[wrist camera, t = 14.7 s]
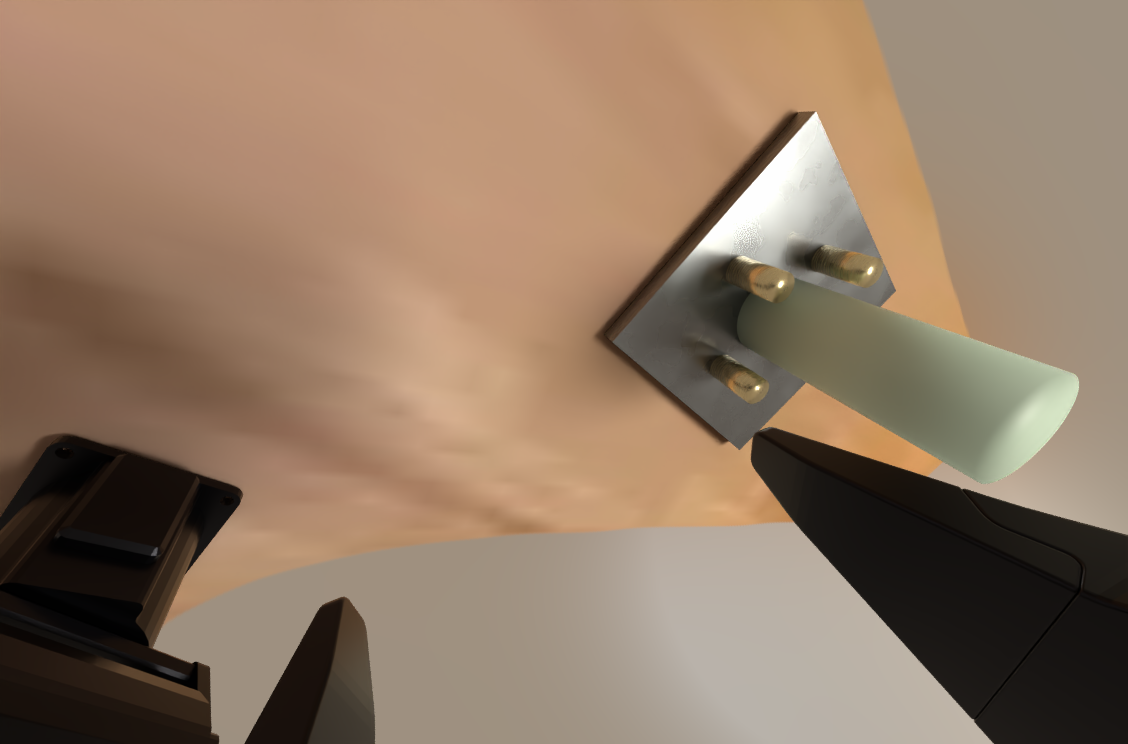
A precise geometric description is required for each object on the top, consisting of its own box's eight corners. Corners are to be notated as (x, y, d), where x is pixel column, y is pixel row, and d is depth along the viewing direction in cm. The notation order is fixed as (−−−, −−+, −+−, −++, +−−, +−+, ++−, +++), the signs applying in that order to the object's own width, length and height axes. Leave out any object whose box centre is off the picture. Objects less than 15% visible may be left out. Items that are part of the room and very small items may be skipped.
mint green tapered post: (779, 354, 27) (1014, 483, 17) (724, 345, 25) (952, 484, 15) (815, 283, 25) (1097, 379, 15) (759, 267, 23) (1040, 365, 13)
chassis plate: (729, 441, 31) (771, 478, 27) (604, 334, 23) (641, 369, 20) (881, 286, 29) (945, 306, 25) (798, 111, 21) (876, 109, 18)
